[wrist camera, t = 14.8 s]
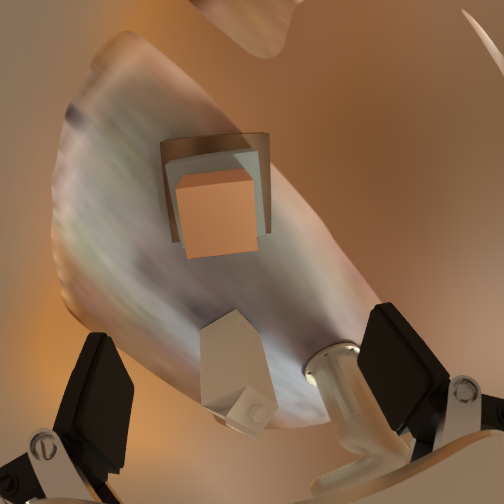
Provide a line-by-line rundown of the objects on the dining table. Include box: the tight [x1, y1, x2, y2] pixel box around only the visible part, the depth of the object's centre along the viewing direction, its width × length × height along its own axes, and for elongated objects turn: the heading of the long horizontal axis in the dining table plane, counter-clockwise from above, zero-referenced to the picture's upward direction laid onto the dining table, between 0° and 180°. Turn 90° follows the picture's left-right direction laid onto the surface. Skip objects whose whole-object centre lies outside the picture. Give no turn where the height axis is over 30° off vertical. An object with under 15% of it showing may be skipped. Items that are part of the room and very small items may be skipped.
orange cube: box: [175, 168, 258, 259], centre depth 25 cm, size 6×6×6 cm
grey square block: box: [165, 148, 266, 249], centre depth 29 cm, size 9×9×4 cm
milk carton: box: [200, 309, 278, 441], centre depth 36 cm, size 7×7×19 cm
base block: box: [160, 132, 271, 242], centre depth 33 cm, size 12×12×4 cm
